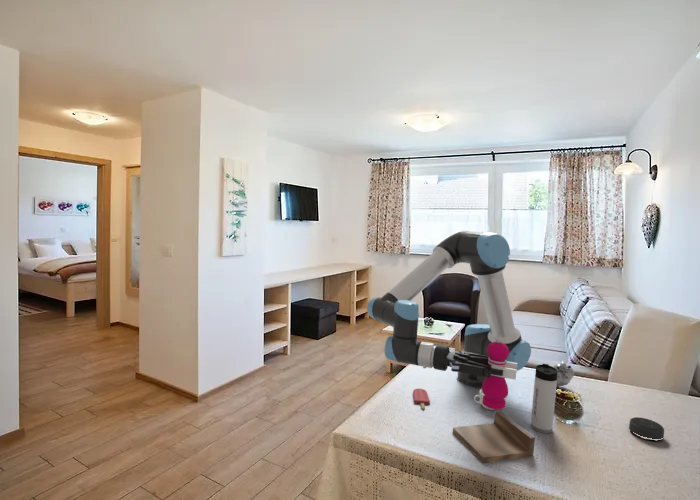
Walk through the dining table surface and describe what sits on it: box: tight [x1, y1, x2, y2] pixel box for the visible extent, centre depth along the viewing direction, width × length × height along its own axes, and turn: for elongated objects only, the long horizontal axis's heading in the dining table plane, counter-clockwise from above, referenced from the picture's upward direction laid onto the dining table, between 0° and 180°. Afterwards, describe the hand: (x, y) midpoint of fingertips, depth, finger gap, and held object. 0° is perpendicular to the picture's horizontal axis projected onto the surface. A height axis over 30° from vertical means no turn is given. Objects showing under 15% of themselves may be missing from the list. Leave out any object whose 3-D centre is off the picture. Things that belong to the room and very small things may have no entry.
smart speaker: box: [628, 416, 665, 439], centre depth 129 cm, size 9×9×4 cm
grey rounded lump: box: [553, 361, 575, 387], centre depth 163 cm, size 10×10×12 cm
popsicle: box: [412, 388, 431, 410], centre depth 146 cm, size 5×2×15 cm
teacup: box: [473, 388, 498, 411], centre depth 142 cm, size 10×8×5 cm
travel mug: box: [530, 363, 558, 434], centre depth 129 cm, size 6×7×20 cm
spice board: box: [452, 410, 536, 464], centre depth 119 cm, size 16×16×6 cm
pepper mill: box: [481, 337, 509, 410], centre depth 117 cm, size 7×7×20 cm
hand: (516, 371), depth 115 cm, fingers closed on pepper mill, 5 cm apart
